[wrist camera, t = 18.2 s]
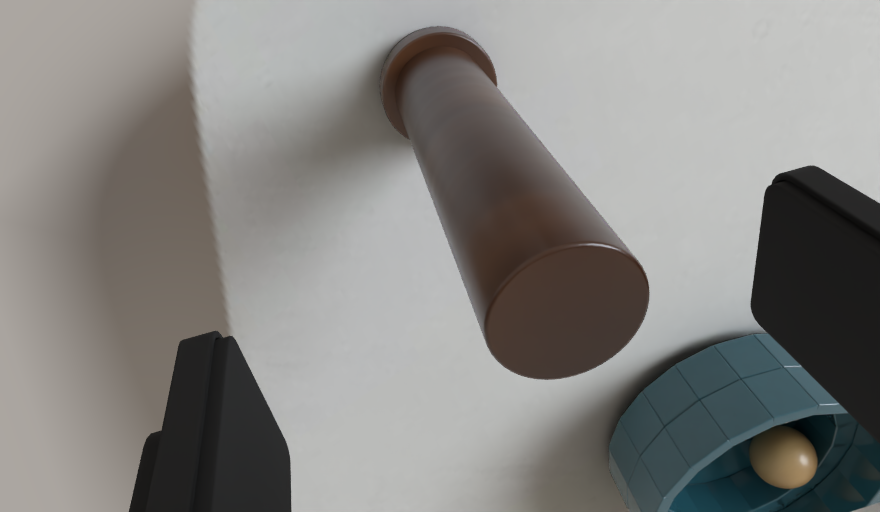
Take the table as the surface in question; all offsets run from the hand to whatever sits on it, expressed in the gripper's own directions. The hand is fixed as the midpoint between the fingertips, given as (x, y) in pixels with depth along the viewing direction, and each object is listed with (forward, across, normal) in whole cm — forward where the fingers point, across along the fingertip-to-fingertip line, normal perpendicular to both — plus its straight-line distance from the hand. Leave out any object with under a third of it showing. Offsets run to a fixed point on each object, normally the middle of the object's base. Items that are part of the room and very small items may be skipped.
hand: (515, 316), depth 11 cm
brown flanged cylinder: (+11, -1, 0) cm, 11 cm away
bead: (+9, -14, +22) cm, 27 cm away
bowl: (+11, -12, +20) cm, 26 cm away
